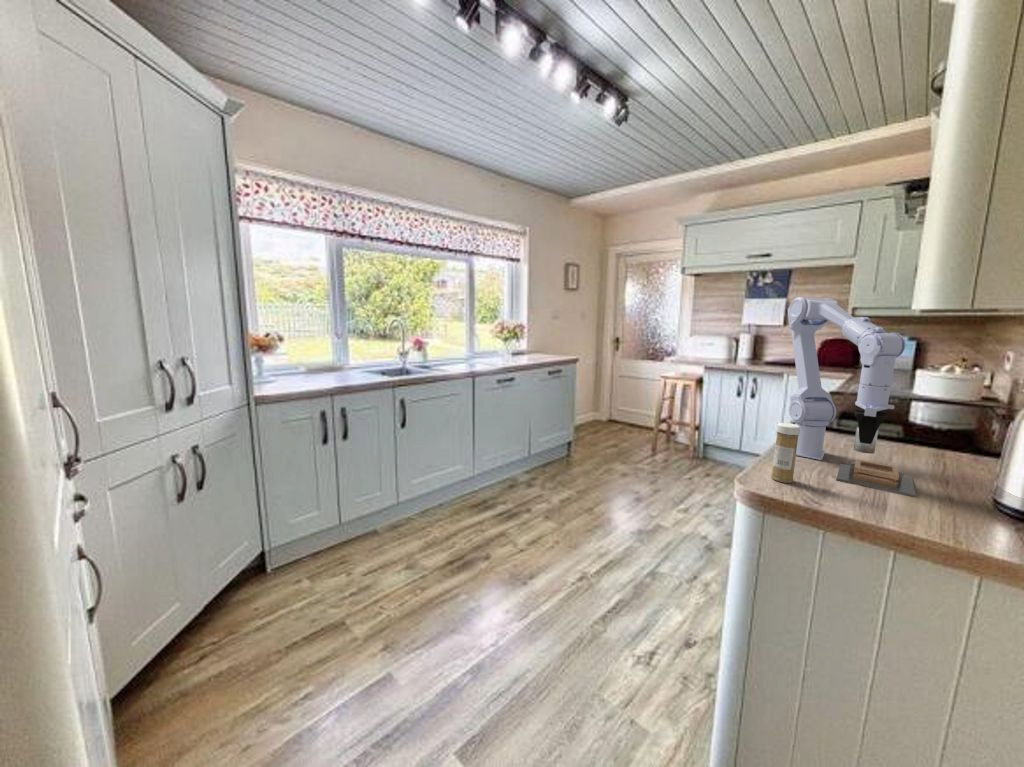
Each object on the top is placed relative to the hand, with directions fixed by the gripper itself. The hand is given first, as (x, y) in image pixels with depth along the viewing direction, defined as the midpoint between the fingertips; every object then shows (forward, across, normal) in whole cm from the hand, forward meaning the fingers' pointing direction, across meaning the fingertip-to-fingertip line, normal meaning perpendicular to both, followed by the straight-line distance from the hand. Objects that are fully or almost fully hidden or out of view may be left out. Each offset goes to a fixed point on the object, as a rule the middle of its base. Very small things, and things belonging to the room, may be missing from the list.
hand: (865, 441), depth 105 cm
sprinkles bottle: (+10, -14, +14) cm, 22 cm away
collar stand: (+9, +2, -3) cm, 10 cm away
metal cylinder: (+2, 0, 0) cm, 2 cm away
